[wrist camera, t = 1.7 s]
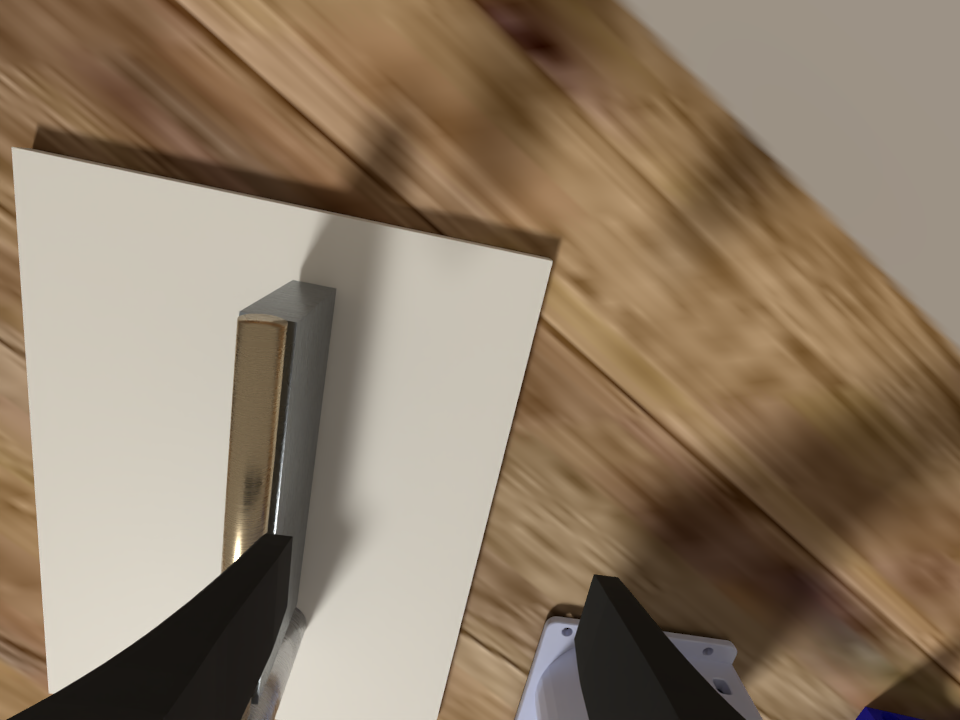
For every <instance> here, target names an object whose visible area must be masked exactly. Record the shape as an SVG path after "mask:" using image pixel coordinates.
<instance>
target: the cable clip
mask: <svg viewBox="0 0 960 720" xmlns="http://www.w3.org/2000/svg"><path fill="white" fill-rule="evenodd" d="M856 720H922V719H918V718H913V717H909V716H904V715H900V714H895V713H891V712H887V711H882V710H878V709H873V708H869V707H865V708H864V709H863V710H862V712H861V713H860V714H859V716H858V717H857V718H856Z"/></svg>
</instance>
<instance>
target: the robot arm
mask: <svg viewBox="0 0 960 720" xmlns="http://www.w3.org/2000/svg"><path fill="white" fill-rule="evenodd" d="M292 542H293V536H285V535H277V534H269V533H266V534H264V535H263V536H261V537H260V538H259V539H258V540H257V541H256V542H255V543H254V544H253V545H252V546H251V547H250V548H248V549H247V550H246V551H245V552H244V553H243V554H242V555H241V556H240V557H239V558H238V559H237V560H236V561H235V562H234V563H232V564H231V565H230V566H229V567H228V568H227V569H226V570H225V571H224V572H222V573H221V574H220V575H219V576H218V577H217V578H216V579H214V580H213V581H212V582H211V583H210V584H209V585H207V586H206V587H205V588H204V589H203V590H202V591H200V592H199V593H198V594H197V595H196V596H195V597H193V598H192V599H191V600H190V601H189V602H187V603H186V604H185V605H183V606H182V607H181V608H180V609H178V610H177V611H176V612H175V613H173V614H172V615H171V616H169V617H168V618H167V619H166V620H164V621H163V622H162V623H160V624H159V625H158V626H157V627H155V628H154V629H153V630H151V631H150V632H148V633H147V634H146V635H144V636H143V637H142V638H140V639H139V640H137V641H136V642H134V643H133V644H132V645H130V646H129V647H127V648H126V649H124V650H123V651H121V652H120V653H118V654H117V655H115V656H114V657H113V658H111V659H110V660H108V661H106V662H105V663H103V664H102V665H100V666H99V667H97V668H95V669H94V670H92V671H91V672H89V673H87V674H86V675H84V676H83V677H81V678H79V679H78V680H76V681H74V682H73V683H71V684H69V685H68V686H66V687H64V688H63V689H61V690H59V691H58V692H56V693H54V694H53V695H51V696H49V697H48V698H46V699H44V700H42V701H40V702H39V703H37V704H35V705H33V706H31V707H29V708H28V709H26V710H24V711H22V712H20V713H18V714H16V715H15V716H13V717H11V718H9V719H7V720H241V718H242V716H243V714H244V712H245V710H246V708H247V705H248V703H249V701H250V699H251V697H252V695H253V692H254V690H255V688H256V686H257V684H258V682H259V679H260V677H261V675H262V673H263V671H264V668H265V666H266V664H267V662H268V660H269V657H270V655H271V653H272V651H273V648H274V645H275V642H276V639H277V636H278V633H279V630H280V627H281V624H282V621H283V618H284V615H285V612H286V609H287V605H288V592H289V580H290V567H291V555H292ZM564 628H569V629H566V630H564ZM705 648H706V649H705ZM736 655H737V649H736V647H735V646H734V644H733V643H732V642H731V641H728V640H721V639H714V638H707V637H700V636H693V635H686V634H678V633H671V632H664V631H662V630H661V629H660V627H659V626H658V625H657V624H656V623H655V621H654V620H653V619H652V618H651V617H650V615H649V614H648V613H647V612H646V611H645V609H644V608H643V607H642V606H641V604H640V603H639V602H638V601H637V599H636V598H635V597H634V596H633V595H632V593H631V592H630V591H629V590H628V588H627V587H626V586H625V585H624V584H623V583H622V581H621V580H620V579H619V578H618V577H610V576H602V575H594V576H593V579H592V582H591V586H590V589H589V592H588V595H587V599H586V602H585V605H584V609H583V612H582V615H581V618H580V619H573V618H566V617H559V616H554V617H551V618H549V619H548V620H547V621H546V623H545V626H544V629H543V632H542V635H541V638H540V641H539V645H538V648H537V651H536V654H535V657H534V660H533V663H532V667H531V670H530V673H529V676H528V679H527V682H526V685H525V689H524V692H523V695H522V698H521V701H520V704H519V707H518V711H517V714H516V717H515V720H763V719H762V717H761V716H760V714H759V712H758V710H757V708H756V707H755V705H754V703H753V701H752V699H751V698H750V696H749V694H748V692H747V691H746V689H745V687H744V685H743V683H742V682H741V680H740V678H739V676H738V674H737V673H736V671H735V669H734V667H733V665H732V663H733V661H734V659H735V657H736Z"/></svg>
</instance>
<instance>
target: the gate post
mask: <svg viewBox="0 0 960 720" xmlns="http://www.w3.org/2000/svg"><path fill="white" fill-rule="evenodd" d="M306 625H307V623H306V618H305V616H304V614H303V613H302V612H301V610H300V609H298V608H297V607H296V608H295V610H294V613H293V616H292V618H291V621H290V623H289V626H288V628H287V631H286V634H285V636H284V639H283V641H282V644H281V646H280V649H279V652H278V654H277V657H276V659H275V662H274V664H273V667H272V670H271V672H270V675H269V677H268V680H267V682H266V685H265V688H264V690H263V693H262V695H261V698H260V701H259V703H258V705H257V704H251V708H250V714H249V716H248V718H247V720H274V719H275V716H276V713H277V710H278V708H279V705H280V702H281V699H282V696H283V693H284V690H285V687H286V685H287V682H288V679H289V676H290V673H291V670H292V667H293V664H294V661H295V659H296V656H297V653H298V650H299V647H300V644H301V641H302V638H303V636H304V633H305V630H306Z"/></svg>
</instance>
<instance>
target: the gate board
mask: <svg viewBox="0 0 960 720" xmlns="http://www.w3.org/2000/svg"><path fill="white" fill-rule="evenodd" d="M12 160H13V174H14V189H15V204H16V218H17V233H18V248H19V262H20V277H21V292H22V306H23V321H24V336H25V350H26V365H27V380H28V394H29V409H30V424H31V438H32V453H33V468H34V482H35V497H36V512H37V526H38V541H39V556H40V570H41V585H42V600H43V614H44V629H45V644H46V658H47V673H48V688H49V693H53V694H54V693H56V692H58V691H59V690H61V689H63V688H64V687H66V686H68V685H69V684H71V683H73V682H74V681H76V680H78V679H79V678H81V677H83V676H84V675H86V674H87V673H89V672H91V671H92V670H94V669H95V668H97V667H99V666H100V665H102V664H103V663H105V662H106V661H108V660H110V659H111V658H113V657H114V656H115V655H117V654H118V653H120V652H121V651H123V650H124V649H126V648H127V647H129V646H130V645H132V644H133V643H134V642H136V641H137V640H139V639H140V638H142V637H143V636H144V635H146V634H147V633H148V632H150V631H151V630H153V629H154V628H155V627H157V626H158V625H159V624H160V623H162V622H163V621H164V620H166V619H167V618H168V617H169V616H171V615H172V614H173V613H175V612H176V611H177V610H178V609H180V608H181V607H182V606H183V605H185V604H186V603H187V602H189V601H190V600H191V599H192V598H193V597H195V596H196V595H197V594H198V593H199V592H200V591H202V590H203V589H204V588H205V587H206V586H207V585H209V584H210V583H211V582H212V581H213V580H214V579H216V578H217V577H218V576H219V575H220V574H221V560H222V545H223V529H224V514H225V499H226V484H227V468H228V453H229V438H230V422H231V407H232V392H233V376H234V361H235V346H236V331H237V318H238V317H239V311H241V310H243V309H244V308H246V307H248V306H249V305H251V304H253V303H255V302H256V301H258V300H260V299H261V298H263V297H265V296H266V295H268V294H270V293H271V292H273V291H275V290H277V289H278V288H280V287H282V286H283V285H285V284H287V283H288V282H290V281H292V280H296V281H301V282H306V283H311V284H316V285H321V286H326V287H332V288H337V289H336V297H335V305H334V313H333V321H332V329H331V337H330V345H329V353H328V361H327V369H326V377H325V385H324V393H323V401H322V409H321V417H320V425H319V433H318V441H317V449H316V457H315V465H314V473H313V481H312V489H311V497H310V505H309V513H308V521H307V529H306V537H305V545H304V553H303V561H302V569H301V577H300V585H299V593H298V601H297V605H296V607H297V608H298V609H300V610H301V612H302V613H303V614H304V616H305V618H306V623H307V625H306V630H305V633H304V636H303V638H302V641H301V644H300V647H299V650H298V653H297V656H296V659H295V661H294V664H293V667H292V670H291V673H290V676H289V679H288V682H287V685H286V687H285V690H284V693H283V696H282V699H281V702H280V705H279V708H278V710H277V713H276V716H275V719H277V720H437V717H438V713H439V709H440V705H441V701H442V697H443V693H444V689H445V685H446V681H447V677H448V673H449V669H450V665H451V661H452V657H453V653H454V650H455V646H456V642H457V638H458V634H459V630H460V626H461V622H462V618H463V614H464V610H465V606H466V602H467V598H468V594H469V590H470V586H471V582H472V578H473V575H474V571H475V567H476V563H477V559H478V555H479V551H480V547H481V543H482V539H483V535H484V531H485V527H486V523H487V519H488V515H489V511H490V507H491V503H492V499H493V496H494V492H495V488H496V484H497V480H498V476H499V472H500V468H501V464H502V460H503V456H504V452H505V448H506V444H507V440H508V436H509V432H510V428H511V424H512V420H513V417H514V413H515V409H516V405H517V401H518V397H519V393H520V389H521V385H522V381H523V377H524V373H525V369H526V365H527V361H528V357H529V353H530V349H531V345H532V341H533V338H534V334H535V330H536V326H537V322H538V318H539V314H540V310H541V306H542V302H543V298H544V294H545V290H546V286H547V282H548V278H549V274H550V270H551V266H552V263H553V261H552V260H551V259H550V258H547V257H542V256H538V255H533V254H528V253H523V252H519V251H514V250H509V249H505V248H500V247H495V246H490V245H486V244H481V243H476V242H471V241H467V240H462V239H457V238H452V237H448V236H443V235H438V234H434V233H429V232H424V231H419V230H415V229H410V228H405V227H400V226H396V225H391V224H386V223H382V222H377V221H372V220H367V219H363V218H358V217H353V216H348V215H344V214H339V213H334V212H329V211H325V210H320V209H315V208H311V207H306V206H301V205H296V204H292V203H287V202H282V201H277V200H273V199H268V198H263V197H258V196H254V195H249V194H244V193H240V192H235V191H230V190H225V189H221V188H216V187H211V186H206V185H202V184H197V183H192V182H187V181H183V180H178V179H173V178H169V177H164V176H159V175H154V174H150V173H145V172H140V171H135V170H131V169H126V168H121V167H116V166H112V165H107V164H102V163H98V162H93V161H88V160H83V159H79V158H74V157H69V156H64V155H60V154H55V153H50V152H45V151H41V150H36V149H31V148H18V147H12Z"/></svg>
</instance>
